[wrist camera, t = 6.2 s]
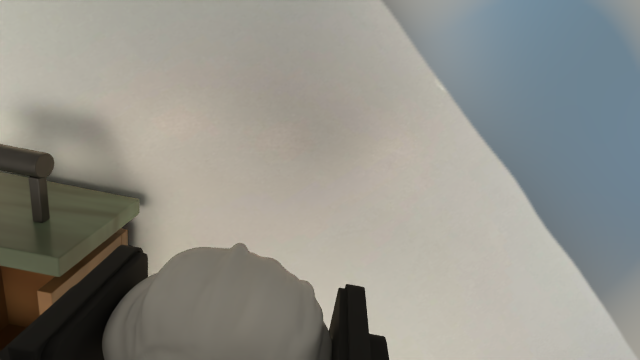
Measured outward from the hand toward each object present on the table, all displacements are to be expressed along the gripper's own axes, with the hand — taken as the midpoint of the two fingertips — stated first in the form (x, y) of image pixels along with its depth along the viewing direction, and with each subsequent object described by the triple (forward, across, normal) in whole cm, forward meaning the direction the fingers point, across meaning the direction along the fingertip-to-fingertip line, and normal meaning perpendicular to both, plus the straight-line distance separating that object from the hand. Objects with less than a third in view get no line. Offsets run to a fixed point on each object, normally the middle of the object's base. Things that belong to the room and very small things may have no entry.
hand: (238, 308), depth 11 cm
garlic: (+1, 0, 0) cm, 1 cm away
